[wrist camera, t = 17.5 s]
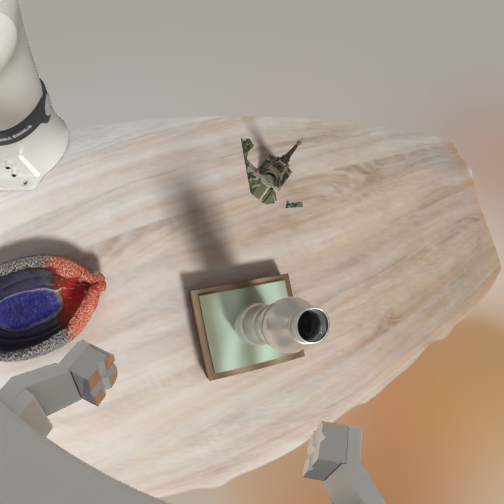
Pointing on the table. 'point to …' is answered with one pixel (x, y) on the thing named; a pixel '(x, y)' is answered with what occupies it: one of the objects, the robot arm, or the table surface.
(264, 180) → the eiffel tower figurine
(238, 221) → the table surface
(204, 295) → the walnut stand
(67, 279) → the dish
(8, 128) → the robot arm
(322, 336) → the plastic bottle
